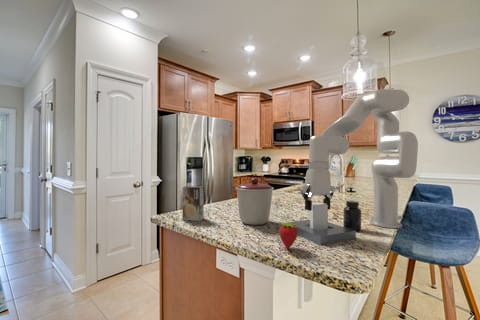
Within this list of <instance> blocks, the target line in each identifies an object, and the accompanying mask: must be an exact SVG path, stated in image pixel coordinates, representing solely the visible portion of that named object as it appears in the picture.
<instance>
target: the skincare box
mask: <svg viewBox="0 0 480 320" xmlns="http://www.w3.org/2000/svg"><path fill="white" fill-rule="evenodd" d="M328 211H329V209H328V205H327V204H325V203H322V202H315V203H314V202H312V210H311V211H309V220H310V228H313V229H316V230H325V229H328V222H329V218H328V217H329V212H328Z"/></svg>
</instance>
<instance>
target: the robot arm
mask: <svg viewBox="0 0 480 320" xmlns="http://www.w3.org/2000/svg"><path fill="white" fill-rule="evenodd" d="M409 104H410V96H409V94H408V93H407V92H406V91H404V90H402V89H390V88H389V89H387V88H384V89H383V88H381V89H376V90H373V91H370V92H366V93H363V94H360V95H359V96H357V98H355V100H354V101H353V102H352V103H351V105H350V106H349V107H348V108H347V110H346V111H345V113H344V114H343V115H342V116H341V117H340V118H338V119H337V120H336V121H335V122H333V123H332V124H330V125H329V126H328V127H327V128H326V129H325V130H324V131H323V132H322V133H321V134H320V135H312V136H311V137H310V138H309V150H308V151H309V153H308V154H309V155H308V169H307V170H306V174H305V178H304V179H305V180H304V186H302V187H300V189H299V190H300V193H301V197H302V198H303V200H304V210H306V211H309V212H310V211H311V210H312V203H313V200H312V198H313V197H314V196H323V199H322V202H323V203H325V204H327V205H328V210H331V200H332V199H333V196H334V192H335V190H336V189H335V187H334V186H332V185H331V184H332V183H331V174H330V173H331V172H330V170H329V169H330V167H331V166H330V156H339V155H344V154H346V153H347V152H348V151H349V149H350V141H349V140H348V139H347V138H346V137H344V136H346V135H349V134H351V133H353V132H355V131H356V130H359V129H360V128H361V127H362V125H363V124H364V123H365V121H366V120H367V118H368V117H369V116H370V115H372V116H373V117H374V119H375V121H376V123H377V134H376V135H377V137H376V149H377V152H378V153H380V154H385V155H386V154H399V155H398V156H379V157H377V158H374V159H373V161H372V162H371V172H372V179H373V218H372V219H370V220H369V223H370V224H371V225H373V226H376V227H379V228H380V227H381V228H387V229H400V228H403V224H402V223H401V222H399V221H400V220H402V219H403V216H402V215H400V214H399V211H398V210H399V187H398V184H397V182H396V180H395V179H410V178H412V177H414V176H415V174H416V172H417V167H418V166H417V165H418V152H419V151H418V150H419V141H418V137H417V136H416V134H415V133H413V132H412V131H400V121H399V119H398V117H397V116H396V115H395V114H393V112H397V111H402V110H404V109H406V108H407V107H408V105H409ZM394 178H395V179H394Z"/></svg>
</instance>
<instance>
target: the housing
mask: <svg viewBox="0 0 480 320" xmlns="http://www.w3.org/2000/svg"><path fill="white" fill-rule="evenodd" d="M286 223H292V224H294V225H297V226H294V227H295V228H296V229H297V237H298V236H299V237H301V238H303V239H306V240H307V241H310V242H313V243H314V244H317V245H319V246H324V245H329V244H334V243H339V242H345V241H350V240H356V239H357V234H356V233H357V231H355V230H352V229H349V228H346V227H343V226H342V225H339V224H335V223H333V222H329V221H328V229H325V230H316V229H313V228H310V219H305V220H296V221H289V222H288V221H287V222H286ZM292 224H291V225H292Z"/></svg>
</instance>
